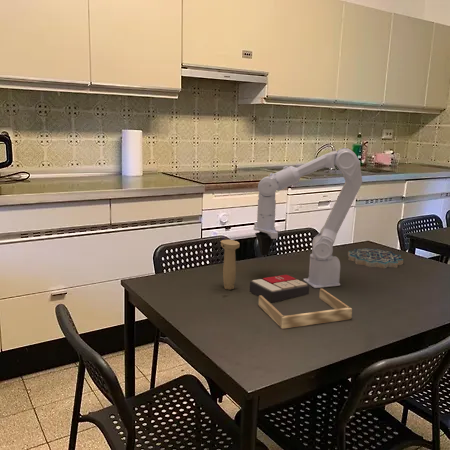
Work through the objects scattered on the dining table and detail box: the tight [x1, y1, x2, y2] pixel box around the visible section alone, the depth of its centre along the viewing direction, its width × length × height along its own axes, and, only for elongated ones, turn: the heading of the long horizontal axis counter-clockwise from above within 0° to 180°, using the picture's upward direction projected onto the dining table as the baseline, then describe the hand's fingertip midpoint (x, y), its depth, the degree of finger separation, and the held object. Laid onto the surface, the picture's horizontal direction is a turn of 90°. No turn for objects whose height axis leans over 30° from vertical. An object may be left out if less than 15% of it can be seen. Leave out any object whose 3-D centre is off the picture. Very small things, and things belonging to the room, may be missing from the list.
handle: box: [220, 239, 240, 291], centre depth 142 cm, size 5×6×15 cm
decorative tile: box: [347, 247, 404, 269], centre depth 176 cm, size 20×20×2 cm
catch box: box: [258, 287, 353, 330], centre depth 127 cm, size 21×16×3 cm
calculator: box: [249, 274, 310, 304], centre depth 141 cm, size 11×4×15 cm
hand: (264, 254), depth 151 cm, fingers closed
